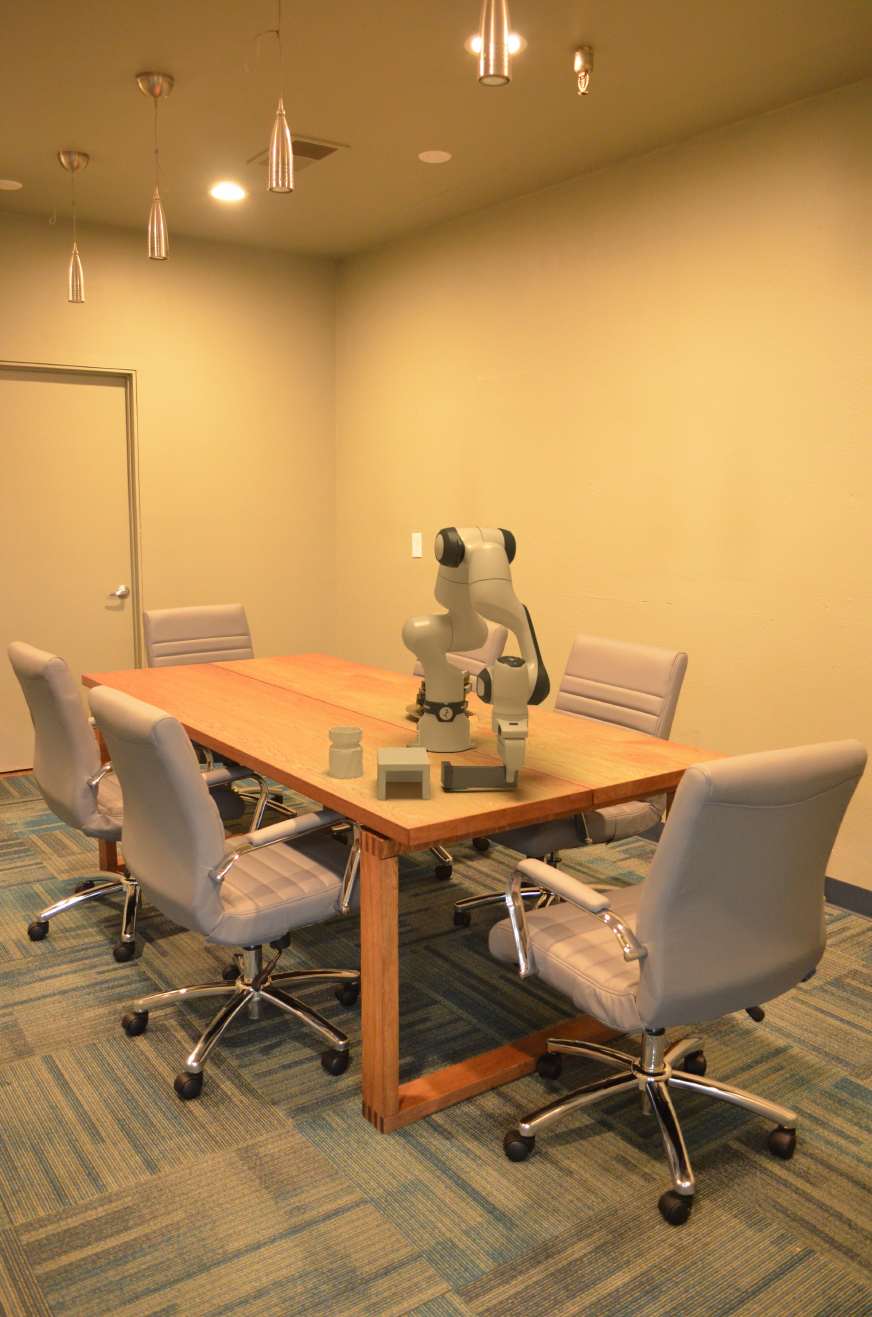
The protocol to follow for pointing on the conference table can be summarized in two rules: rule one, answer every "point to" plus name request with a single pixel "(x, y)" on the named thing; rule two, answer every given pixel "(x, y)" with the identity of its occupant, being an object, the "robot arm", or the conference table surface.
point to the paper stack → (418, 707)
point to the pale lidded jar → (345, 752)
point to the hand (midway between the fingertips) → (508, 779)
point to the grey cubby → (403, 768)
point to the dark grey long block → (475, 776)
